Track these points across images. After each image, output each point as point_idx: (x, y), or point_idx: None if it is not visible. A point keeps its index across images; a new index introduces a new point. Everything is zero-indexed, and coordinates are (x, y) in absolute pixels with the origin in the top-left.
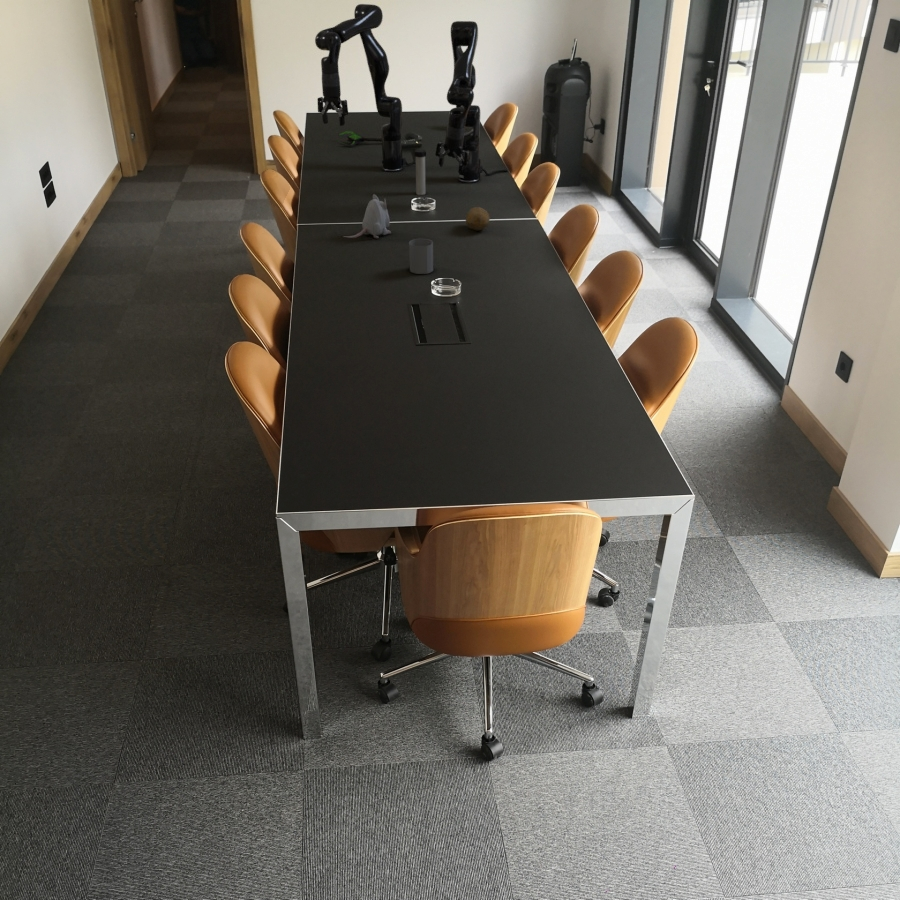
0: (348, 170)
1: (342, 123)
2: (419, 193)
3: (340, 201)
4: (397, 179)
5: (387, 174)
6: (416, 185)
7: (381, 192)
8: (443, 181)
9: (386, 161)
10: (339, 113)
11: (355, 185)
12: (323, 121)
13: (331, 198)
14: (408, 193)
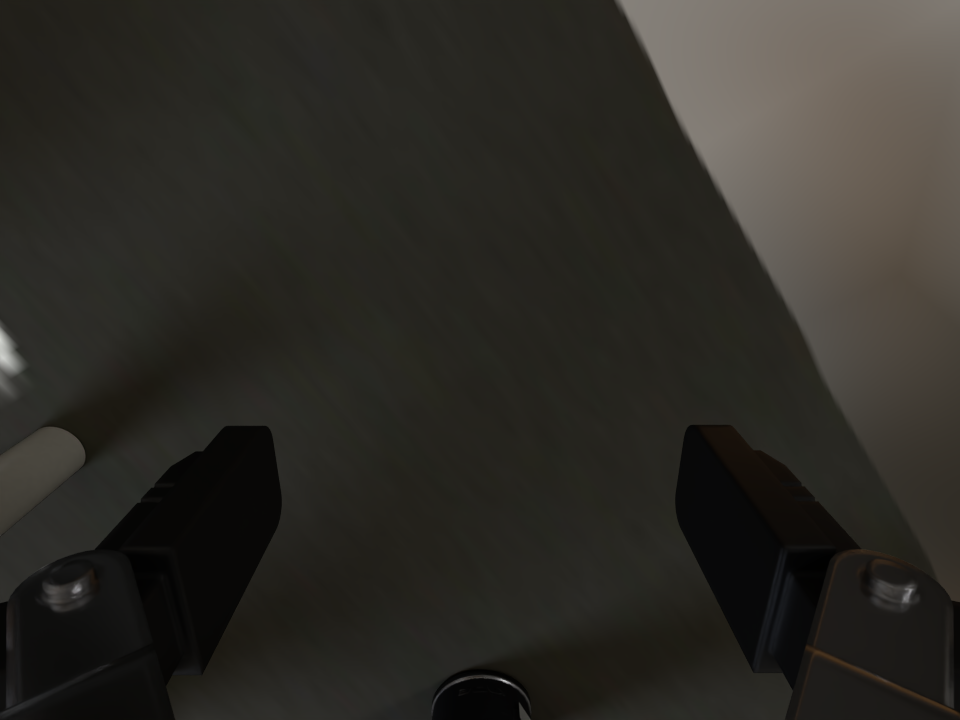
0: (680, 606)
1: (185, 466)
2: (36, 430)
3: (339, 54)
4: (349, 592)
5: (451, 635)
6: (29, 457)
7: (254, 365)
8: None
9: (484, 717)
10: (74, 636)
11: (480, 407)
12: (746, 442)
13: (440, 85)
14: (115, 422)
